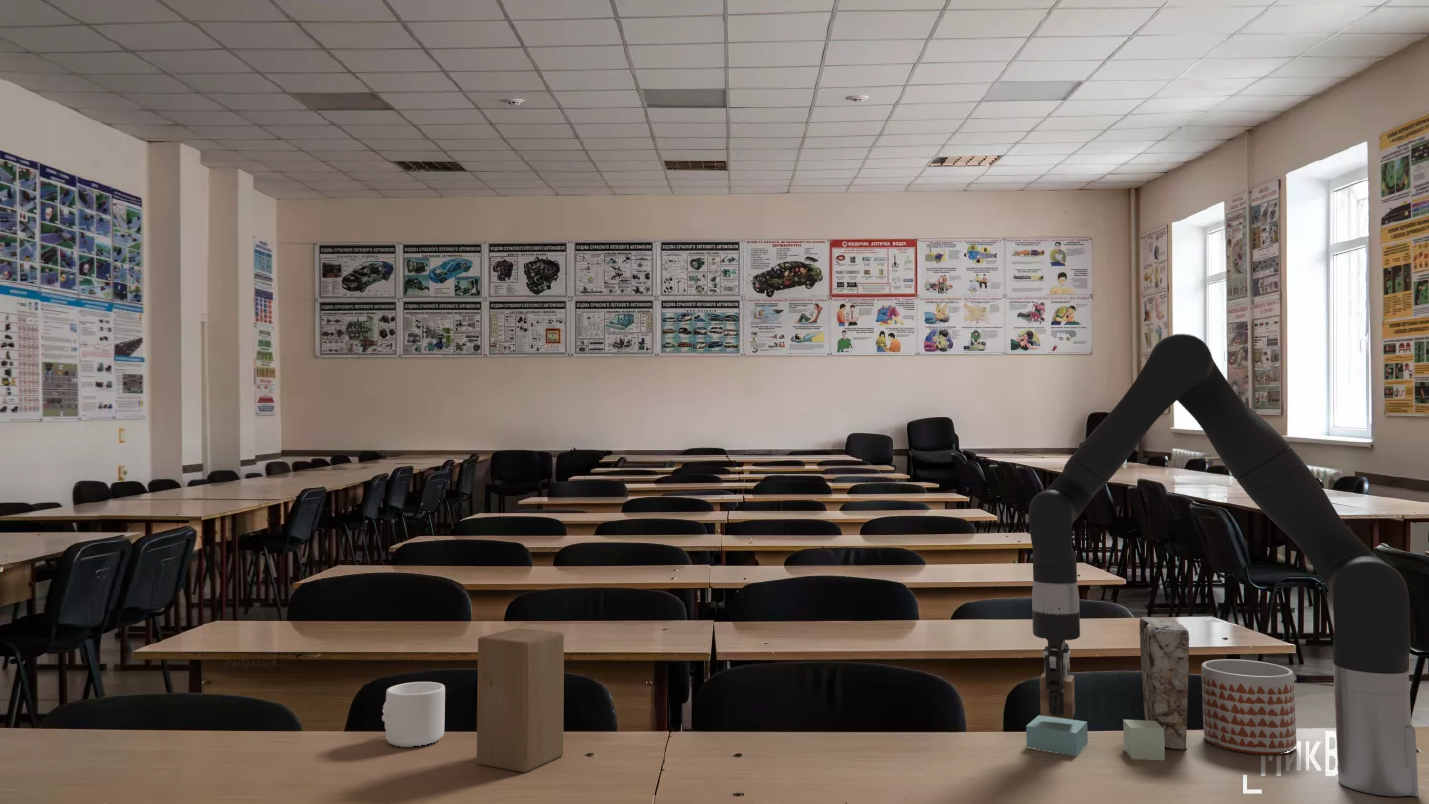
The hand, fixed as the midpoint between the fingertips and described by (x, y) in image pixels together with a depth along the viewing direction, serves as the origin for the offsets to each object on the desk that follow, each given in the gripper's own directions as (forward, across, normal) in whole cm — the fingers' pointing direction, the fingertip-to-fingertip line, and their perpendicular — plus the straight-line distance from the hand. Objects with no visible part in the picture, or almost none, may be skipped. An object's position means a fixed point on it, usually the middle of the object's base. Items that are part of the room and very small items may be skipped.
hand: (1058, 710), depth 162 cm
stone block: (+6, +12, -16) cm, 21 cm away
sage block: (+6, +1, -13) cm, 14 cm away
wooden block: (+6, -43, +78) cm, 89 cm away
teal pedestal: (+6, 0, 0) cm, 6 cm away
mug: (+6, -41, +102) cm, 110 cm away
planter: (+6, +15, -29) cm, 33 cm away
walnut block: (0, 0, 0) cm, 0 cm away
